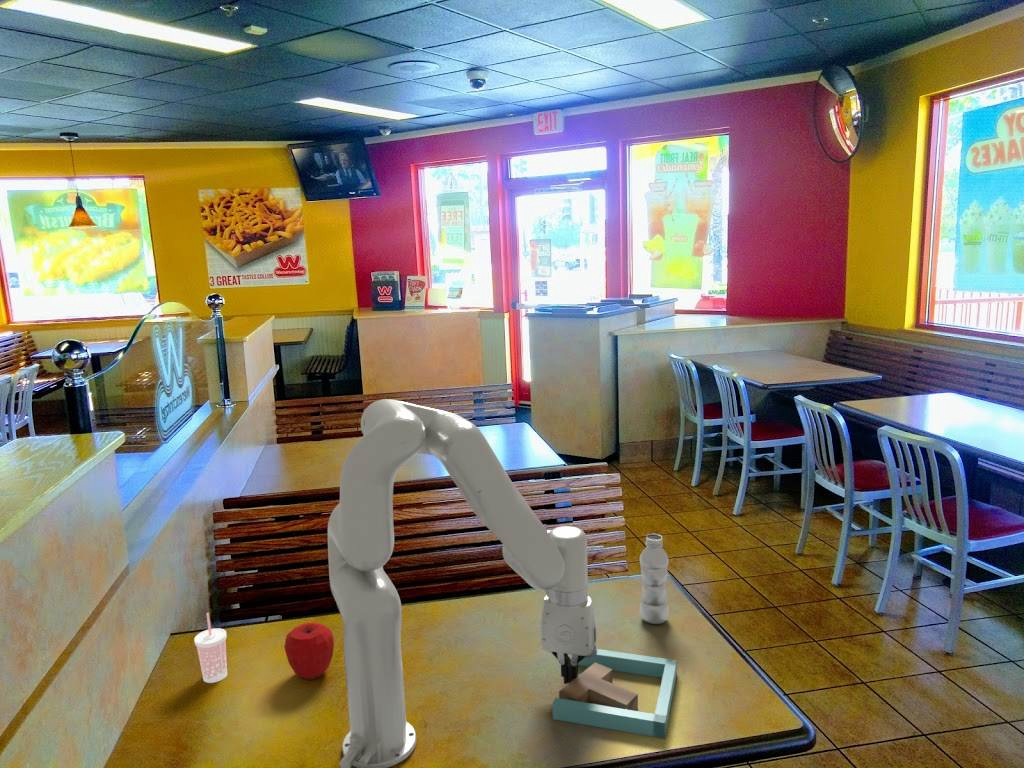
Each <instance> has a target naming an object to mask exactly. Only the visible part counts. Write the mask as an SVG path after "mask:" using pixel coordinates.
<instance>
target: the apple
mask: <svg viewBox="0 0 1024 768" xmlns="http://www.w3.org/2000/svg"><path fill="white" fill-rule="evenodd" d="M334 645H335V637H334V635H333V631H332V630H331V629H330V627H328V626H326V625H325V624H323V623H319V622H305V623H302V624H299V625H296V626H295V627H294V628H293V629H291V631H289V632H288V633H287V634H286V637H285V641H284V647H283V648H284V651H285V656H286V659H287V662H288V664H289V666H290V667H291V669H292V670H293V672H294V674H295V675H297V676H298V677H300V678H302V679H304V680H308V681H310V680H314V678H315V679H317V678H318V677H320V676H321V675H322V674H324V673H325V672H326V671H327V670H328V669H329V667H330V664H331V662H332V659H333V656H334V647H335V646H334Z"/></svg>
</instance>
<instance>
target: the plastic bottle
mask: <svg viewBox="0 0 1024 768" xmlns="http://www.w3.org/2000/svg"><path fill="white" fill-rule="evenodd" d="M663 540H664V539H663V535H660V534H657V533H650V534H646V537H645V546H646V547H645V548H644V549H643V550H642V551H641V553H640V555H639V566H640V572H641V581H642V582H641V584H642V586H641V598H640V603H639V614H640V617H641V618H642V620H643V621H644V622H646V623H648V624H652V625H659V624H663V623H665V622H666V621H667V619H668V618H669V612H670V611H669V610H670V609H669V604H668V597H667V596H668V595H667V575H668V569H669V556H668V554H667V552H666V550H665V549H664V548H663V545H664V543H663Z"/></svg>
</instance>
